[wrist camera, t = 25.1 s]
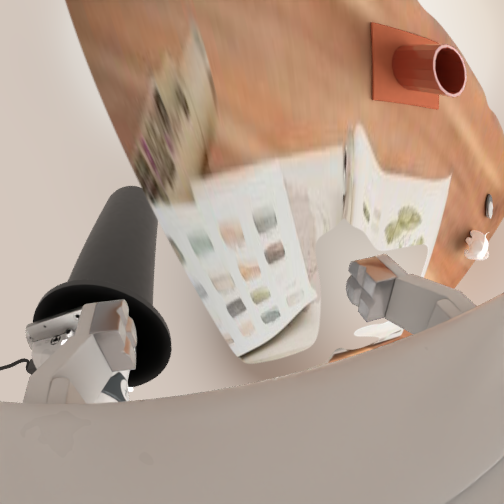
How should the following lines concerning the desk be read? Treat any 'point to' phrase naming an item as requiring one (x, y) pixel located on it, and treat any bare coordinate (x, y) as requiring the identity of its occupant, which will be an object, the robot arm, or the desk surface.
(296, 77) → the desk surface
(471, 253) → the elephant figurine
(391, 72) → the terracotta mat
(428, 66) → the terracotta cup
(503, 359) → the robot arm
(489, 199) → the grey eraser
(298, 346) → the desk surface
